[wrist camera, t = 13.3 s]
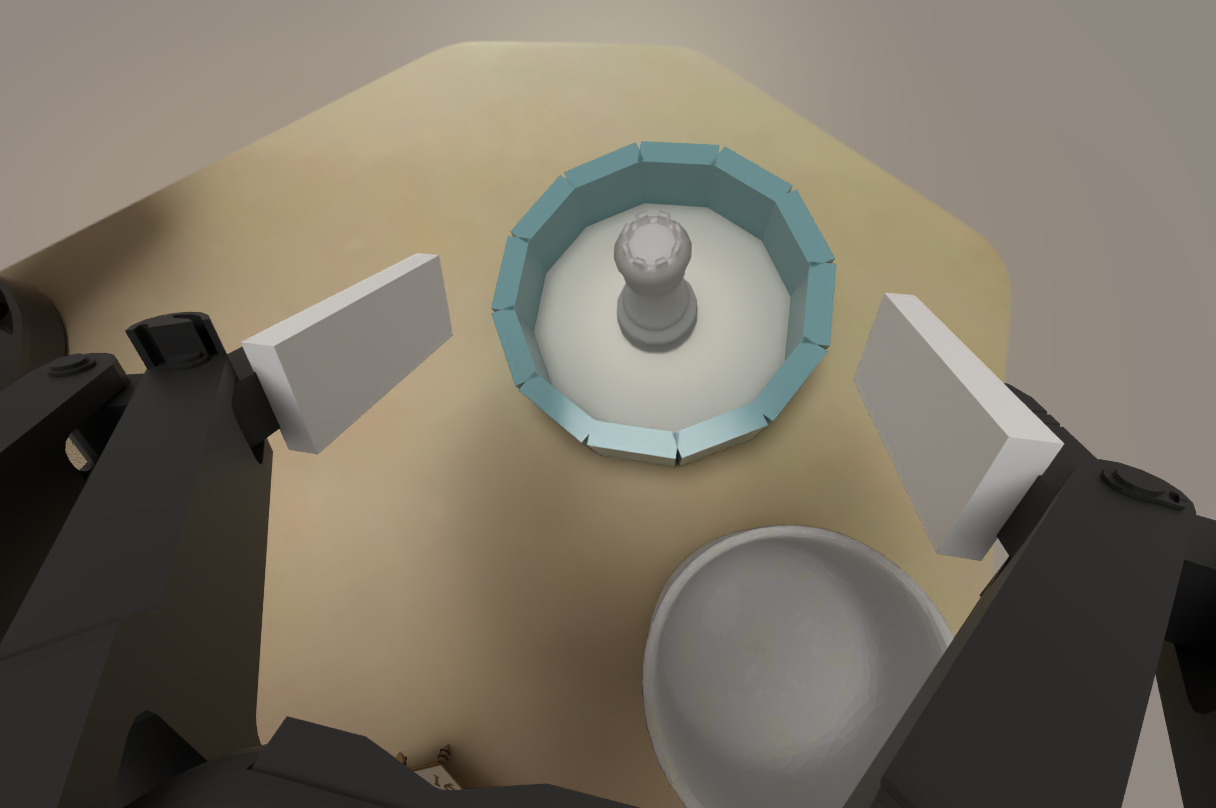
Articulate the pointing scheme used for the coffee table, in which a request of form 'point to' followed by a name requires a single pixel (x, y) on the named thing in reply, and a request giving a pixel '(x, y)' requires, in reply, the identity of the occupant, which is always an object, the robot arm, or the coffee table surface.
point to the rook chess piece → (655, 283)
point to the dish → (721, 280)
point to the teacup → (783, 667)
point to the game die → (436, 771)
